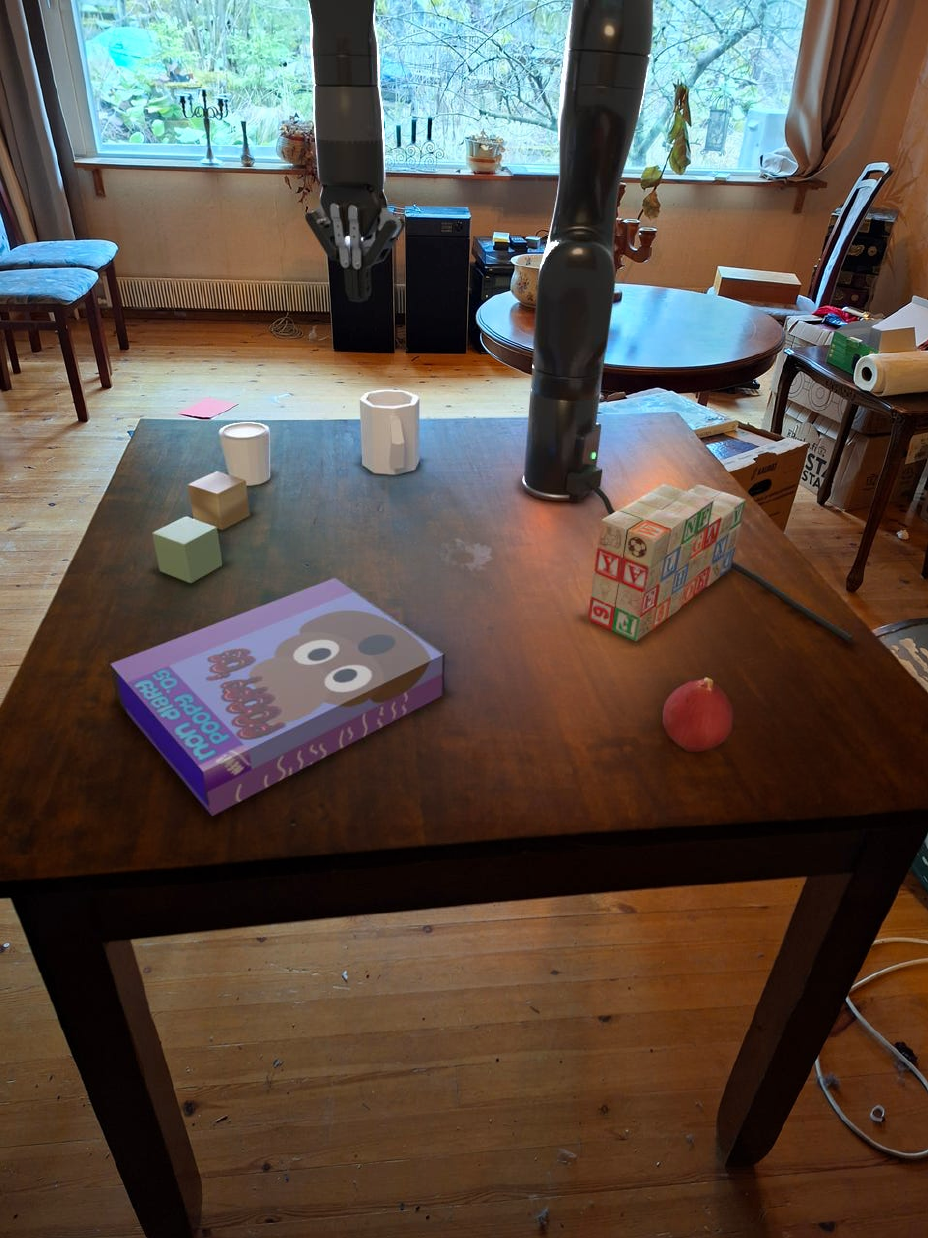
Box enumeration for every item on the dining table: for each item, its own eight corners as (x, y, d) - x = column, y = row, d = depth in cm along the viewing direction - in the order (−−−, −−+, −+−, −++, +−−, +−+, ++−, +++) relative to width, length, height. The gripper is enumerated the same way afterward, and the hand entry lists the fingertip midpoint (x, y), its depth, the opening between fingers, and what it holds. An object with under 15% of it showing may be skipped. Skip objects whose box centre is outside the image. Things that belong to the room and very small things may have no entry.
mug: (358, 454, 126) (355, 390, 120) (414, 450, 128) (414, 387, 122) (370, 487, 116) (367, 419, 111) (430, 483, 118) (430, 416, 113)
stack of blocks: (685, 551, 103) (704, 459, 97) (731, 569, 100) (754, 475, 93) (586, 620, 90) (600, 517, 83) (636, 643, 86) (655, 538, 80)
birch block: (250, 515, 108) (245, 479, 105) (222, 530, 104) (217, 493, 102) (221, 505, 110) (216, 470, 107) (193, 520, 106) (187, 484, 104)
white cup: (280, 469, 120) (275, 422, 117) (266, 489, 115) (261, 440, 111) (234, 466, 121) (228, 419, 117) (218, 485, 115) (211, 437, 111)
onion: (648, 728, 75) (663, 657, 71) (710, 726, 76) (728, 655, 71) (667, 773, 71) (683, 700, 66) (733, 771, 71) (753, 698, 67)
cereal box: (444, 653, 76) (200, 772, 62) (443, 694, 78) (209, 817, 65) (336, 577, 86) (107, 664, 73) (338, 615, 89) (118, 706, 76)
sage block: (222, 565, 97) (217, 527, 94) (190, 583, 94) (183, 544, 91) (191, 553, 99) (185, 516, 96) (159, 571, 96) (151, 532, 93)
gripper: (419, 135, 91) (421, 301, 101) (321, 130, 96) (333, 288, 106) (380, 139, 86) (387, 313, 95) (280, 133, 91) (295, 299, 100)
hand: (358, 300), depth 101 cm, fingers closed
